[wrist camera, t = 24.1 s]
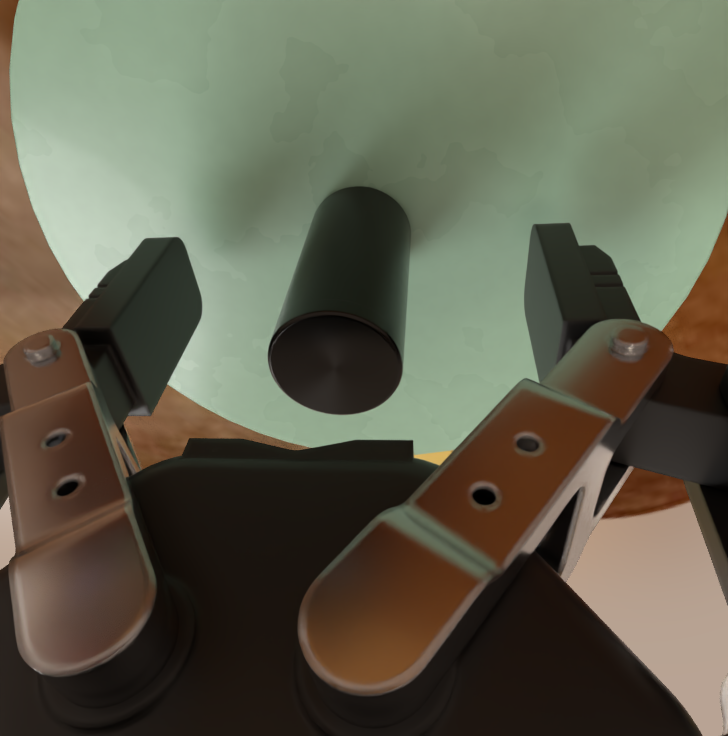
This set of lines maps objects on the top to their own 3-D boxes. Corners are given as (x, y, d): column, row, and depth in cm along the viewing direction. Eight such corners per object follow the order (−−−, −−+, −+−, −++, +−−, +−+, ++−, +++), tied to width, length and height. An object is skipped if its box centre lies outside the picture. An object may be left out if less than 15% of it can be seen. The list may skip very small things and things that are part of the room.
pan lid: (164, 431, 21) (89, 588, 16) (-126, -190, 10) (-572, -238, 6) (635, 432, 19) (700, 613, 14) (879, -348, 8) (1448, -628, 4)
